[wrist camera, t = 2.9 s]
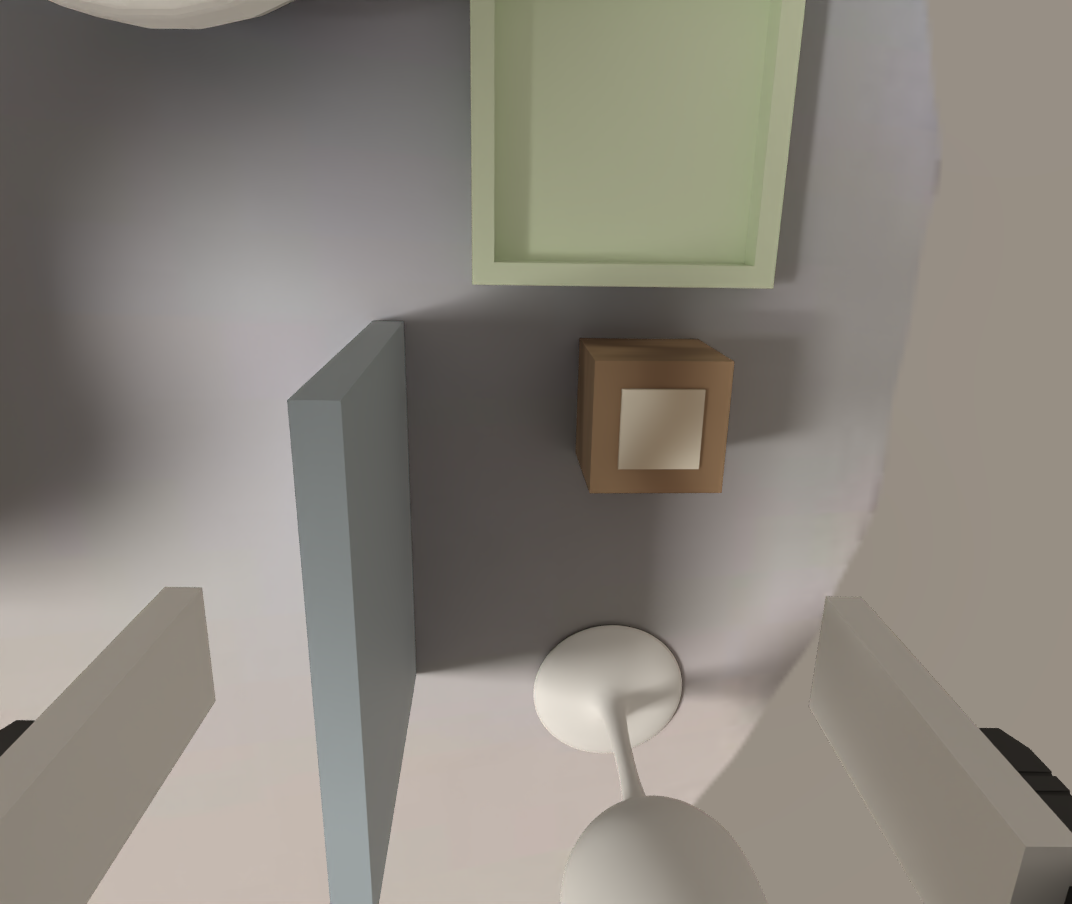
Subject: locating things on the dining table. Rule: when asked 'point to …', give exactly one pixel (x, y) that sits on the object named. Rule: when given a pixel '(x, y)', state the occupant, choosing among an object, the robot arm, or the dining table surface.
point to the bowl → (174, 11)
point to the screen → (357, 594)
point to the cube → (652, 415)
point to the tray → (630, 140)
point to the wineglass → (634, 778)
